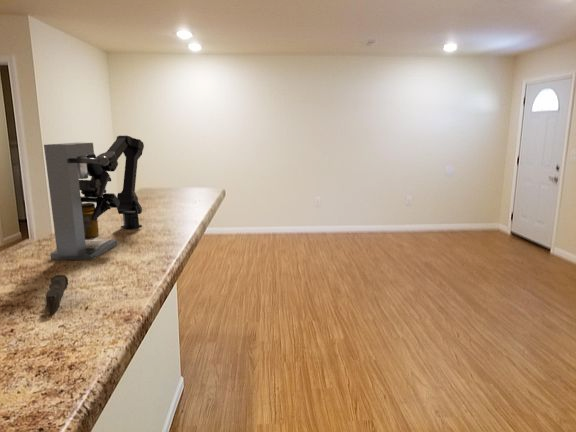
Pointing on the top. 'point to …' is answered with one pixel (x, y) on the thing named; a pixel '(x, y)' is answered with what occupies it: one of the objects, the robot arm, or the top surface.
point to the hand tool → (55, 292)
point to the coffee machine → (71, 200)
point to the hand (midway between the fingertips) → (84, 219)
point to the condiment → (89, 221)
